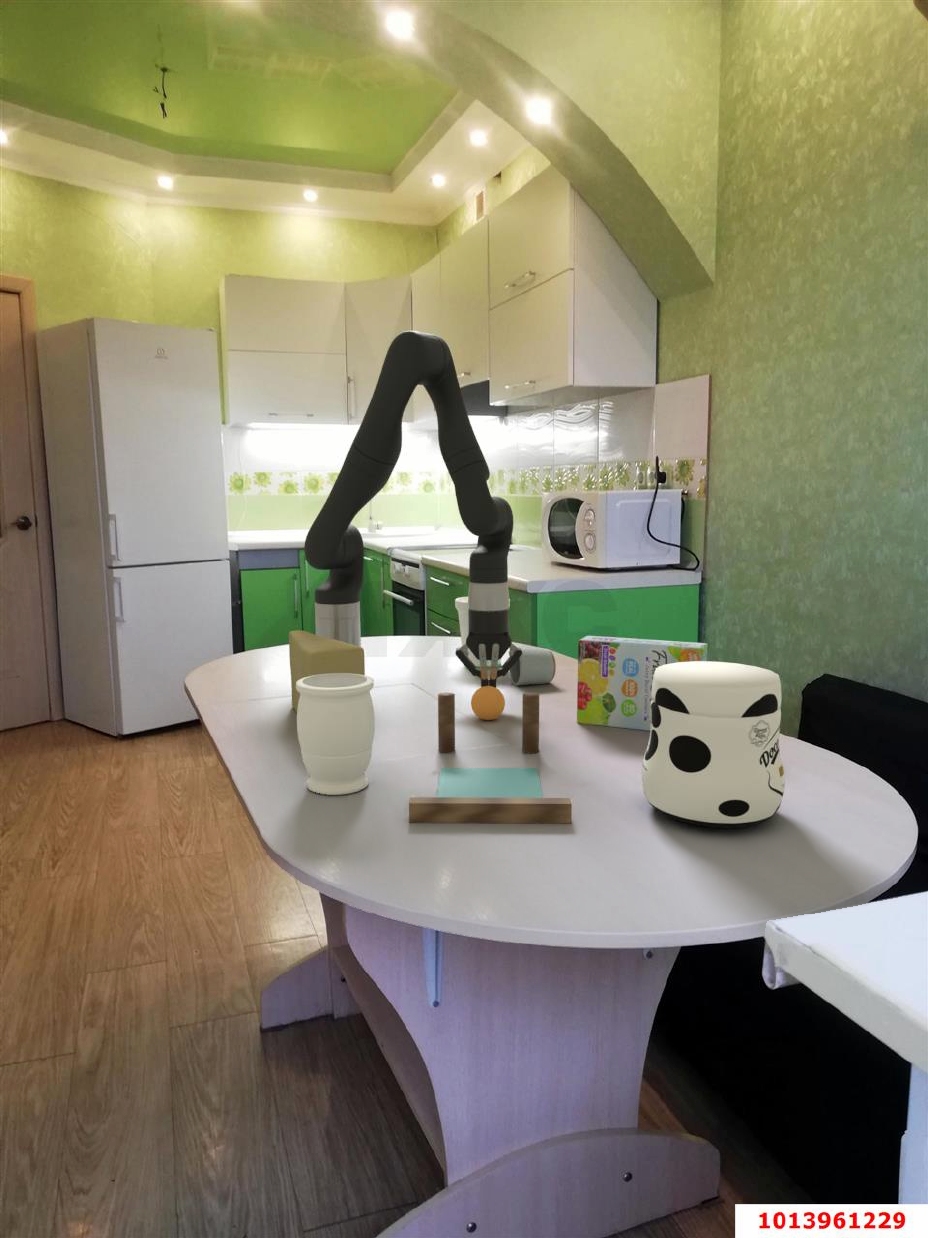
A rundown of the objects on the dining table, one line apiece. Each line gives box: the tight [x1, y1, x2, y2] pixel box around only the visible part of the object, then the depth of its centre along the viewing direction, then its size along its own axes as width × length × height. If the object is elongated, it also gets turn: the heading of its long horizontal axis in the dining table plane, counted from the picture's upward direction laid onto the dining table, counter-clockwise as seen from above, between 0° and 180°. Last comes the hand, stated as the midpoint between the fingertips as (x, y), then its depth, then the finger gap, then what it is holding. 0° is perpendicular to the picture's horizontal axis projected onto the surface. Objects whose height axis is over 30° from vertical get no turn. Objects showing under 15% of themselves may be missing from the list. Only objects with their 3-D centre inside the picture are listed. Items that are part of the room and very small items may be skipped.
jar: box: [296, 673, 376, 796], centre depth 118 cm, size 11×10×15 cm
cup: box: [454, 596, 511, 670], centre depth 197 cm, size 12×12×15 cm
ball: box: [470, 686, 506, 721], centre depth 152 cm, size 6×6×6 cm
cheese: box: [288, 629, 366, 713], centre depth 152 cm, size 22×10×15 cm, turn 31°
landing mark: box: [436, 767, 543, 798], centre depth 119 cm, size 14×14×1 cm
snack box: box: [576, 635, 709, 732], centre depth 147 cm, size 21×6×15 cm, turn 65°
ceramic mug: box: [509, 647, 557, 686], centre depth 181 cm, size 11×8×8 cm
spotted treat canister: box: [641, 660, 786, 829], centre depth 108 cm, size 17×17×18 cm
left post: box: [437, 692, 456, 754], centre depth 134 cm, size 3×3×9 cm
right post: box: [521, 692, 540, 754], centre depth 134 cm, size 3×3×9 cm
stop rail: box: [408, 796, 573, 824], centre depth 107 cm, size 20×2×2 cm, turn 89°
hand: (488, 697), depth 161 cm, fingers closed
